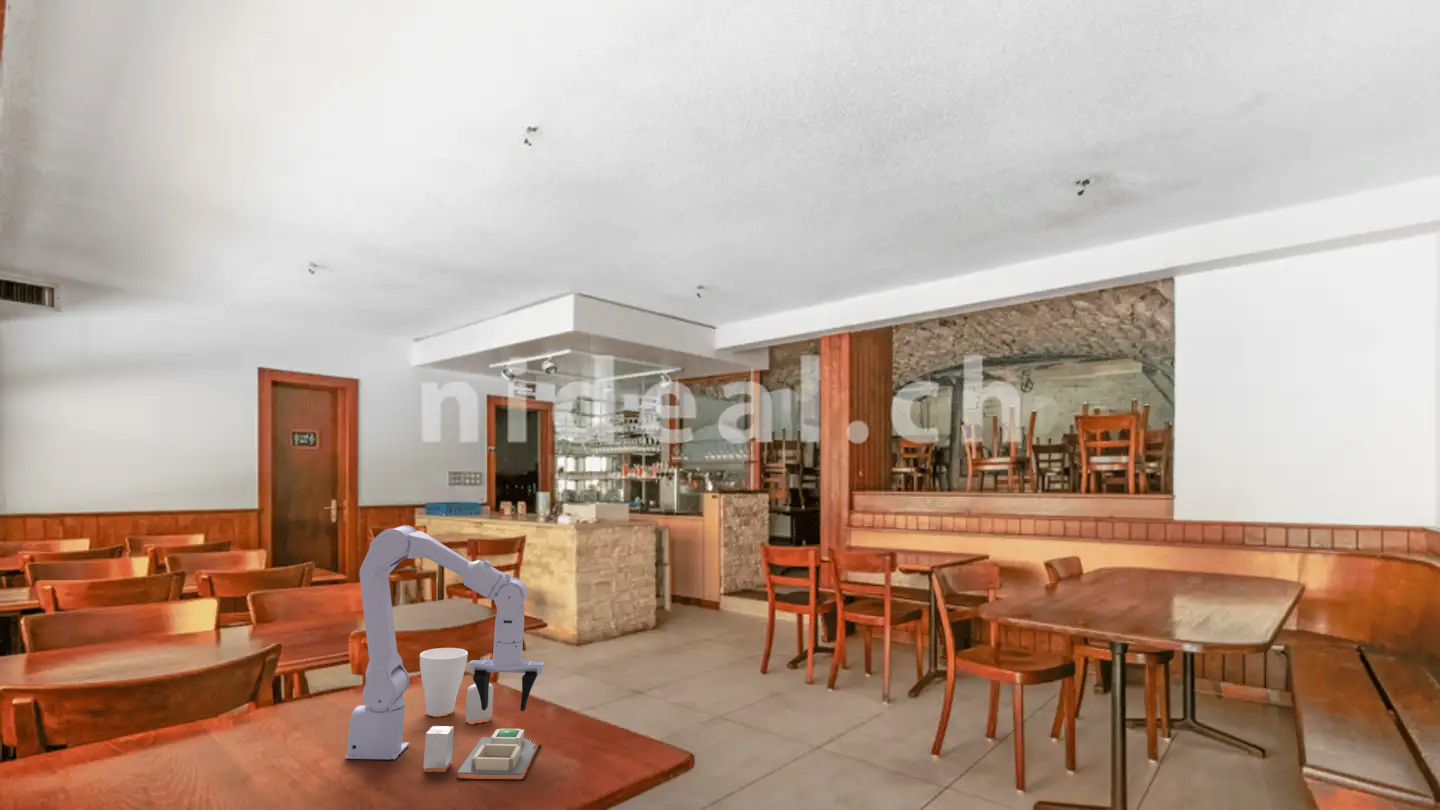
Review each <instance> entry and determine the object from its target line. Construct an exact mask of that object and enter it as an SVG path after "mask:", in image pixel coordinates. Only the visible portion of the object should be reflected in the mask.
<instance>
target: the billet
mask: <svg viewBox="0 0 1440 810" xmlns="http://www.w3.org/2000/svg"><path fill="white" fill-rule="evenodd" d="M454 729H455V726H452V725H451V726H449V725H447V726H446V725H443V726H441V725H432V727H430V728H429V729H428V730H427V731H426V733H425V740H424V756H423V768H424V769H425V768H445V767H446V766H447V765H448V763H449V762H450V761H451V759H452V758H453V744H454V743H453V742H454ZM451 762H452V761H451ZM423 768H422V769H423Z"/></svg>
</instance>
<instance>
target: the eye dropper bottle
mask: <svg viewBox="0 0 1440 810" xmlns="http://www.w3.org/2000/svg"><path fill="white" fill-rule="evenodd" d="M493 704H494V685H493V684H491V683H490V682H489V689H488V707H487V708H486V710H482V706H481V700H480V696H479V692H478V689H477V687H476V684H475V683H473V684H471V685H469V686H468V687H467V690H466V704H465V717H464V719H466V720H467V721H474V720H475V721H476V720H483V719H487V718H490V717H492V718H493V706H494V705H493Z"/></svg>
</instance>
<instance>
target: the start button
mask: <svg viewBox="0 0 1440 810" xmlns="http://www.w3.org/2000/svg"><path fill="white" fill-rule="evenodd" d="M502 729H503V730H501V731H500V737H516V730H515V729H516V728H509V727H508V728H502Z"/></svg>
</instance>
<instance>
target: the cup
mask: <svg viewBox="0 0 1440 810" xmlns="http://www.w3.org/2000/svg"><path fill="white" fill-rule="evenodd" d="M468 655H469V653H468V650H465V649H463V648H458V647H457V648H456V647H440V648H431V649H427V650H424V651H421V652H420V654H419V670H420V678H421V684H422V687H423V694H424V699H425V701H424V702H425V714H426V713H427V714H430V715H442V714H446V713H450V712H452V711H453V710H454V711H455V708H456V701H457V696H458V693H459V690H460V687H461V684H462V682H463V679H464V674H465V670H466V666H467V664H468V663H467V662H468V657H469V656H468Z"/></svg>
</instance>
